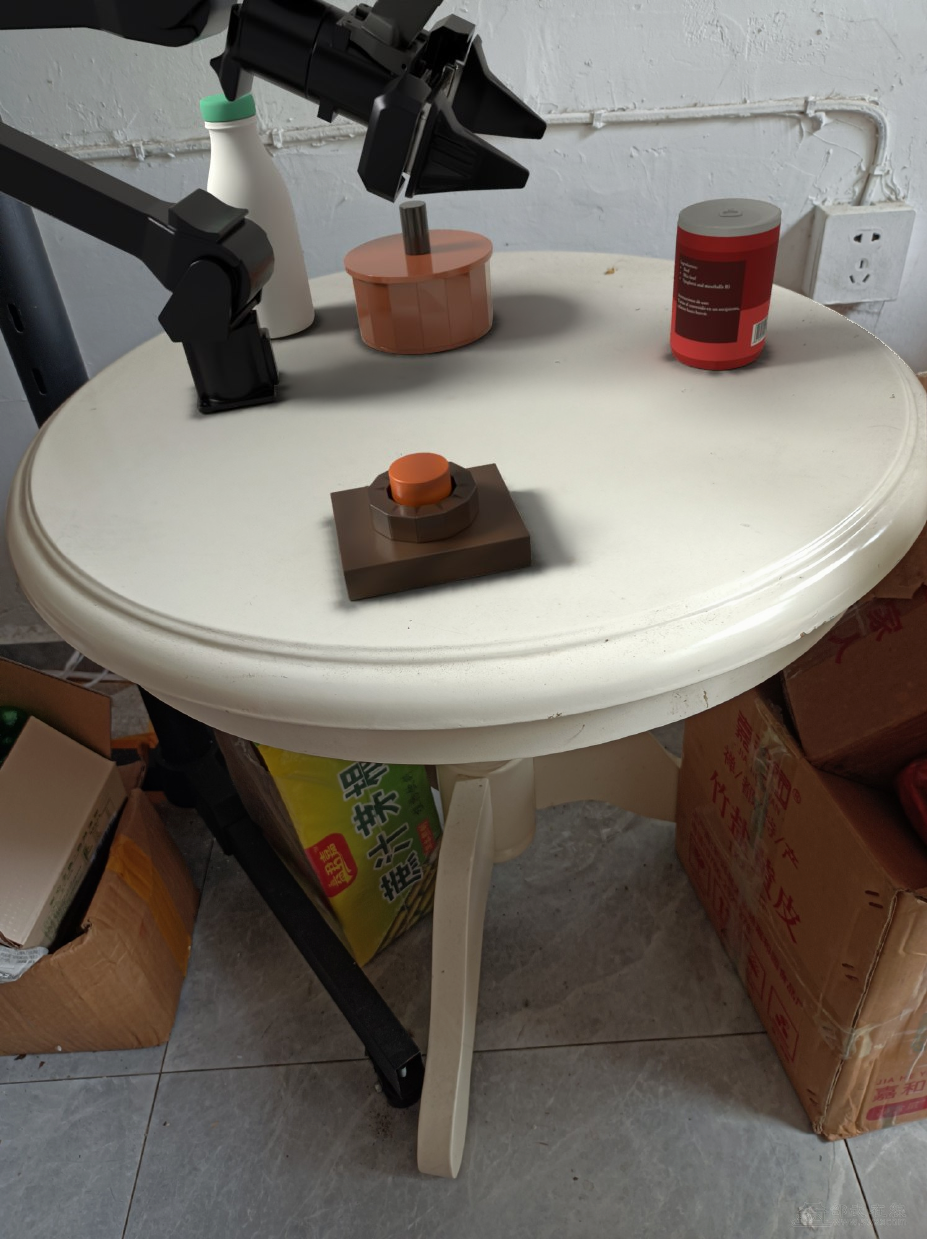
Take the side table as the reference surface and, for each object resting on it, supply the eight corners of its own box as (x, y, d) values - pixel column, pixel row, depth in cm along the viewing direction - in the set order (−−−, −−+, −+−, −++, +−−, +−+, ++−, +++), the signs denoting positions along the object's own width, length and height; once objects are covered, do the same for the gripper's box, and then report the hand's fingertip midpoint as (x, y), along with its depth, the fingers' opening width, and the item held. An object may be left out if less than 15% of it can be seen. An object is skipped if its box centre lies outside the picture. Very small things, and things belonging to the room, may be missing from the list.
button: (396, 513, 50) (392, 487, 49) (388, 483, 53) (384, 458, 52) (457, 502, 51) (454, 476, 50) (445, 472, 53) (442, 447, 52)
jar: (369, 363, 77) (357, 290, 73) (354, 315, 87) (343, 249, 83) (506, 340, 78) (502, 268, 74) (476, 296, 88) (471, 230, 84)
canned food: (747, 329, 75) (764, 193, 68) (776, 366, 69) (798, 221, 62) (659, 338, 75) (667, 203, 69) (680, 376, 69) (691, 232, 62)
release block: (349, 601, 50) (336, 544, 48) (335, 520, 57) (324, 467, 54) (532, 565, 51) (529, 508, 49) (497, 491, 58) (493, 437, 56)
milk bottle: (324, 329, 84) (278, 93, 72) (246, 347, 83) (185, 108, 70) (306, 306, 90) (260, 83, 77) (233, 322, 88) (174, 97, 76)
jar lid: (353, 301, 73) (342, 236, 70) (339, 255, 83) (329, 197, 80) (509, 276, 74) (506, 211, 71) (476, 234, 85) (471, 176, 81)
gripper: (301, -60, 45) (572, 70, 47) (388, -115, 58) (600, -9, 60) (267, 151, 53) (499, 254, 55) (349, 63, 66) (536, 150, 68)
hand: (536, 154), depth 59 cm, fingers open, 9 cm apart
